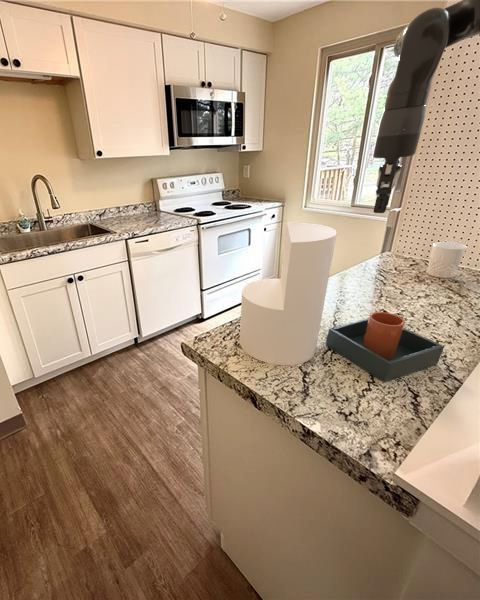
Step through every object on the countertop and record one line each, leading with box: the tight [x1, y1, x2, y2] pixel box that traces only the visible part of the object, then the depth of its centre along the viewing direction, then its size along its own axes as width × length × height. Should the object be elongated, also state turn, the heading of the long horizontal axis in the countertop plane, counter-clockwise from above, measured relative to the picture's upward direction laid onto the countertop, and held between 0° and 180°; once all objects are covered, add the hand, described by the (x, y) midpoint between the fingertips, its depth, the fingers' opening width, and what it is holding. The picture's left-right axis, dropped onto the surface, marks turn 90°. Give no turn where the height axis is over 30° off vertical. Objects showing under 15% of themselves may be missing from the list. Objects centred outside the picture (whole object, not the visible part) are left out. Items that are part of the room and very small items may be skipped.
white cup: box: [426, 241, 468, 279], centre depth 101 cm, size 8×8×10 cm
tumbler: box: [362, 311, 406, 360], centre depth 67 cm, size 6×6×8 cm
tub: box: [325, 317, 445, 383], centre depth 68 cm, size 14×14×5 cm
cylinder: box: [239, 221, 338, 366], centre depth 70 cm, size 17×17×28 cm
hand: (380, 209), depth 74 cm, fingers open, 8 cm apart
